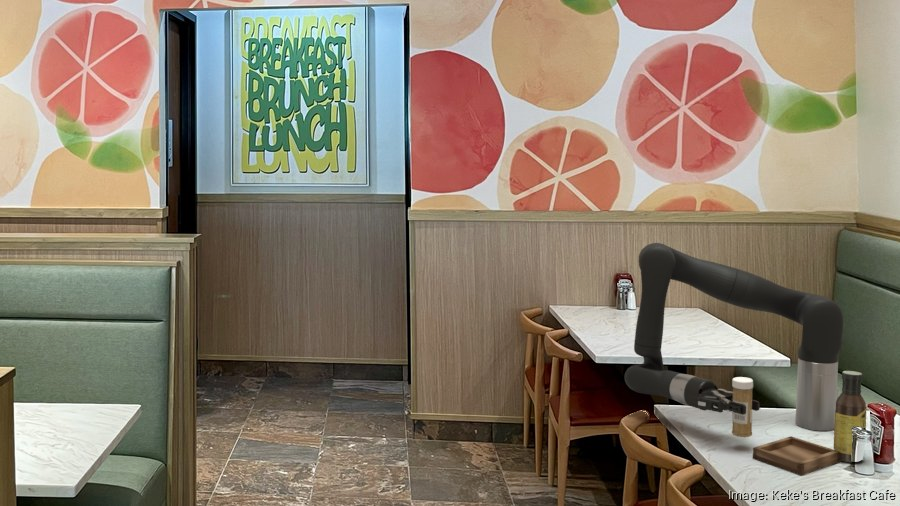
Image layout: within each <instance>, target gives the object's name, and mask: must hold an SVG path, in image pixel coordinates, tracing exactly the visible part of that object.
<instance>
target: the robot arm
mask: <svg viewBox="0 0 900 506" xmlns="http://www.w3.org/2000/svg"><path fill="white" fill-rule="evenodd" d="M638 266H639V267H638V268H639V269H640V277H641V278H640V279H641V280H640V282H641V295H640V296H641V297H640V303H639V305H640V306H639V309H638V315H637V319H636V324H635V325H636V326H635V332H634V333H635V334H634V342H633V343H634V344H633V350H634V353H635V354H636V355H638V356H639V357H643V363H641V364H634V365H631V366H629V367H628V368H627V369H626V371H625V373H624V382H625V384H626V385H627V387H628V388H629V389H630V390H632V391H634V392H636V393H639V394H644V395H653V396H661V397H664V398H667V399H670V400H673V401H676V402H678V403H680V404H683V405H685V406H689V407H692V408H695V409H699V410H700V411H701V410H702V411H711V412H716V413H723V412H726V413H729V412H731V413H732V412H735V413H738V414H742V415H744V414H746V406H745V405H743V404H740V403H736V402H733V388H732V389H731V391H729V390H726V389H725V388H718V387H717V385H716V383H715V382H714V381H713V380H710V379H706V378H704V377H703V378H702V377H699V376H695V375H692V374H687V373H686V374H685V373H681V372H677V371H674V370H666V369H664V361H663V360H664V359H663V356H662V344H663V334H664V325H665V324H664V323H665V322H664V321H665V308H666V300H667V295H668V290H669V286H670V282H671V280H673V281H677V282H680V283H684V284H686V285H689V286H690V287H692V288H694V289H696V290H698V291H700V292H702V293H703V294H705V295H708V296H709V297H711V298H714V299H716V300H718V301H721V302H724V303H727V304H730V305H732V306H736V307H737V308H738V307H739V308H742V309H747V310H752V311H758V312H766V313H772V314H774V315H778V316H781V317H783V318H786V319H788V320H791V321H793V322H794V323H797V324H799V325H801V326H802V329H801V330H802V333H801V344H800V345H799V347H798V353H797V355H798V356H797V378H796V379H797V380H796V401H795V402H796V403H795V404H796V405H795V424H796V426H798V427H800V428H804V429H807V430H812V431H820V432H821V431H822V432H823V431H825V432H827V431H832V430H834V425H835V410H836V400H837V398H838V397H839V389H838V376H839V375H838V372H839V371H838V369H839V358H840V357H839V355H840V352H842V351H841V350H842V342H843V333H844V332H843V330H844V329H843V328H844V316H843V311H842V309H841V307H840V305H839V304H838V303H836V302H835V301H833V300H832V299H830V298H828V297H826V296H824V295H820V294H813V293H810V292H804V291H800V290H796V289H793V288H792V289H791V288H788V287H785V286H783V285H780V284H778V283H775V282H773V281H771V280H769V279H766V278H764V277H762V276H759V275H757V274H754V273H752V272H749V271H745V270H743V269H740V268H736V267H732V266H728V265H726V264H722V263H718V262H714V261H710V260H705V259H701V258H697V257H694V256H691V255H688V254H686V253H685V252H682V251H679V250H676V249H674V247H671V246H668V245H666V244H664V243H661V242H652V243H649V244H646V245H645V246H644V247H643V248H642V249H641V250H640V252H639V254H638ZM760 405H761V403H760V401H759V400H755V399H752V411H755V412H757V411H760V409H761V408H760V407H761V406H760Z"/></svg>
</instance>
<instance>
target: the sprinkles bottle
mask: <svg viewBox="0 0 900 506" xmlns="http://www.w3.org/2000/svg"><path fill="white" fill-rule="evenodd" d="M731 382H732V384H731V385H732V389H733V399H732V401H733V402H736V403H740V404H743V405H745V406H746V414H744V415H742V414H738V413H735V412H732V411H731V413H732V415H731V416H732V417H731V418H732V419H731V420H732V425H731V426H732V428H731V429H732V430H731V433H732V435H733V436H736V437H738V438H749V437H751V436H753V428H752V425H753V410H752V400H753V390H754V389H753V388H754V380H753V379H752V378H750V377H746V376H744V377H743V376H736V377H733V378H732V381H731Z"/></svg>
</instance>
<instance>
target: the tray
mask: <svg viewBox="0 0 900 506" xmlns="http://www.w3.org/2000/svg"><path fill="white" fill-rule="evenodd" d="M839 456H840V451H836V450H834V448H833V449H832V448H829V447H826V446H823V445H820V444H817V443H814V442H810V441H807V440H805V439H801V438H798V437H795V436H787V437H783V438H782V439H781V438H780V439H778V440H773V441H771V442H768V443H763V444H761V445H757V446H755V447H753V448H752V459H754V460H756V461H760V462H762V463H765V464H767V465H770V466H773V467H776V468H779V469H782V470H783V471H787V472H791V473H792V474H795V475H798V476H803V475H807V474H809V473H813V472H816V471H818V470H821V469H824V468H827V467H829V466H833V465H835V464H838V463H840V460H839Z"/></svg>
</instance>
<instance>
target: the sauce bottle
mask: <svg viewBox="0 0 900 506" xmlns="http://www.w3.org/2000/svg"><path fill="white" fill-rule="evenodd" d="M841 379H842V389H841V393H840V394H839V395H838V398H837V400H836V410H835V425H834V429H833V430H834V432H833V450H836V451H840V456H839V462H844V463H852V462H851V453H852V440H853V437H852V428H853V426H859V427H863V428H866V429H867V405H866V401H865V399H864V397H863V396H862V382H863V373H862V372H859V371H854V370H844V371H842V374H841Z"/></svg>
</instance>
